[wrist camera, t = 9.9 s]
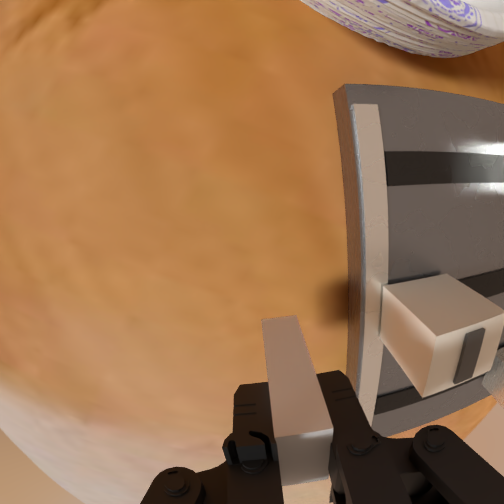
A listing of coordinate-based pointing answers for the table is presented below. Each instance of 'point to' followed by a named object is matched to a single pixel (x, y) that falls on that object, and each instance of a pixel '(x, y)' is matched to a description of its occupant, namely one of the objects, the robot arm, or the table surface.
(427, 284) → the breaker
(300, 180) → the table surface
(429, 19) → the paper bowls
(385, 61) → the table surface
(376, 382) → the panel
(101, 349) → the table surface
